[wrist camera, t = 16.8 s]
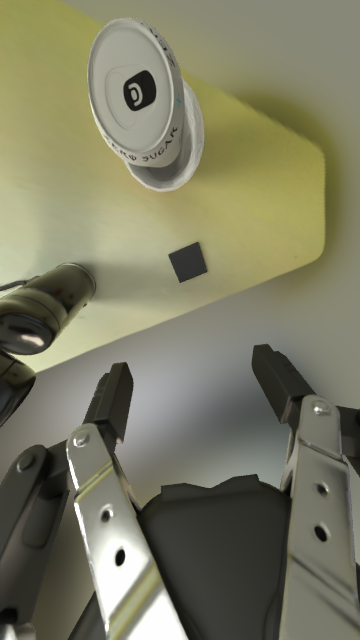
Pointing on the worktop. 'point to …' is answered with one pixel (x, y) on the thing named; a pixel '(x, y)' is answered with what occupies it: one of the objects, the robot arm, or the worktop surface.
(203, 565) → the robot arm
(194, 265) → the coaster
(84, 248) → the worktop surface
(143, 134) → the energy drink can
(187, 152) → the plastic cup
